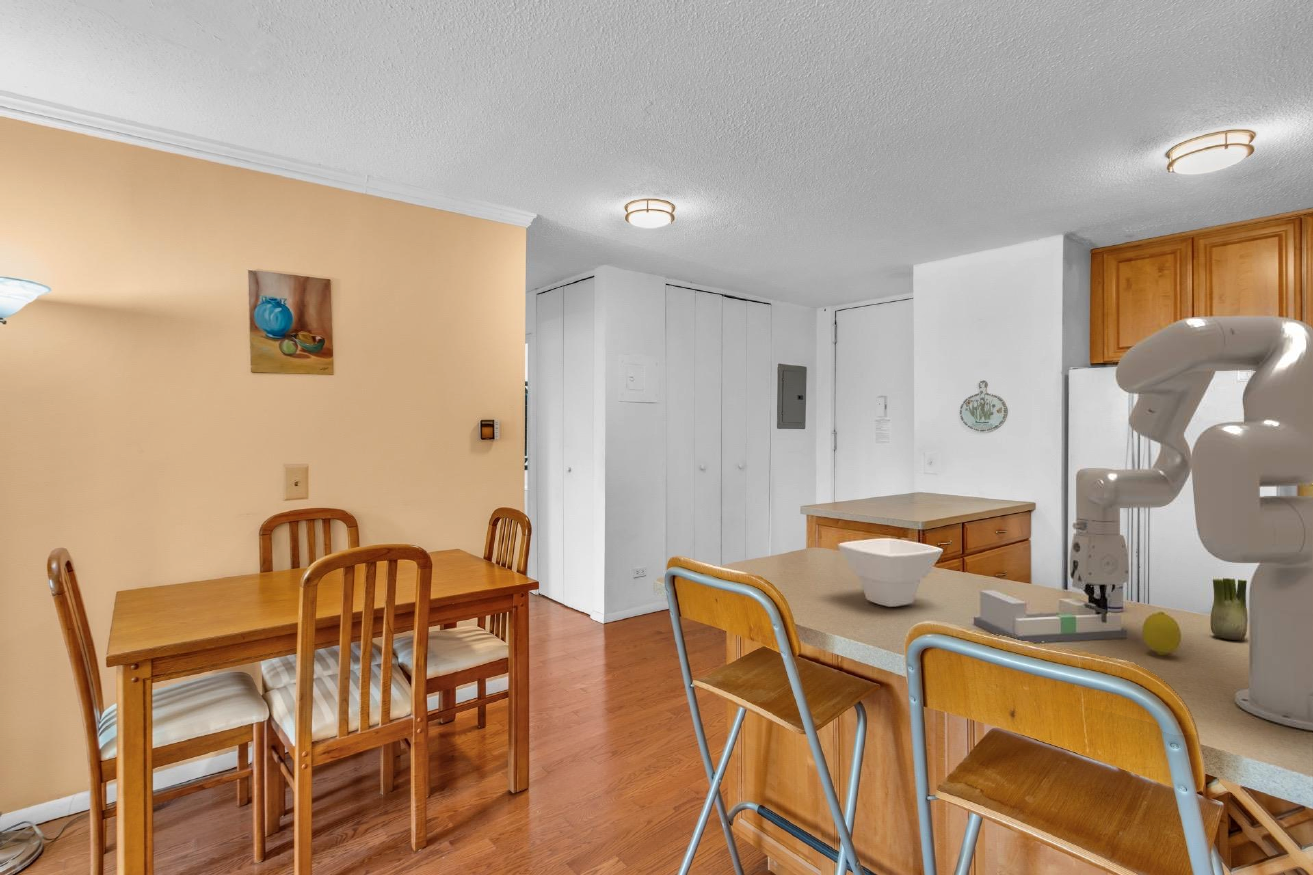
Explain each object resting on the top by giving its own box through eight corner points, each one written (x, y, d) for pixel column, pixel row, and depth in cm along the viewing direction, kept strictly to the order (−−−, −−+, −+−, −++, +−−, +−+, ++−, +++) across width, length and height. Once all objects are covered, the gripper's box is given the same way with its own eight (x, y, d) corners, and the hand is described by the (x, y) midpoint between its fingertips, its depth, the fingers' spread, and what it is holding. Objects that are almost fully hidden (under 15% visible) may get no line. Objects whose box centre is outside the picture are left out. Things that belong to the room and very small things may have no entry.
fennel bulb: (1246, 637, 126) (1246, 577, 126) (1251, 645, 122) (1251, 582, 122) (1207, 633, 129) (1207, 573, 129) (1211, 639, 125) (1211, 578, 125)
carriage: (1117, 631, 126) (1117, 609, 126) (1095, 632, 125) (1095, 610, 125) (1078, 616, 135) (1078, 597, 135) (1058, 617, 135) (1058, 598, 135)
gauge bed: (1126, 637, 127) (1126, 600, 127) (1015, 644, 124) (1015, 605, 124) (1075, 618, 140) (1075, 584, 140) (973, 624, 137) (973, 589, 137)
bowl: (831, 599, 157) (830, 543, 157) (890, 590, 165) (890, 536, 165) (888, 620, 140) (887, 556, 140) (951, 608, 148) (951, 548, 148)
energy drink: (1128, 610, 145) (1128, 558, 145) (1113, 613, 143) (1113, 560, 143) (1104, 604, 150) (1104, 553, 150) (1089, 607, 148) (1089, 555, 148)
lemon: (1165, 662, 114) (1165, 617, 114) (1135, 651, 119) (1134, 608, 119) (1188, 658, 115) (1188, 614, 115) (1157, 648, 121) (1157, 606, 120)
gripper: (1078, 531, 128) (1079, 622, 129) (1146, 529, 130) (1146, 619, 130) (1051, 526, 136) (1051, 612, 136) (1115, 524, 138) (1115, 609, 138)
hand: (1097, 615), depth 133 cm, fingers closed
